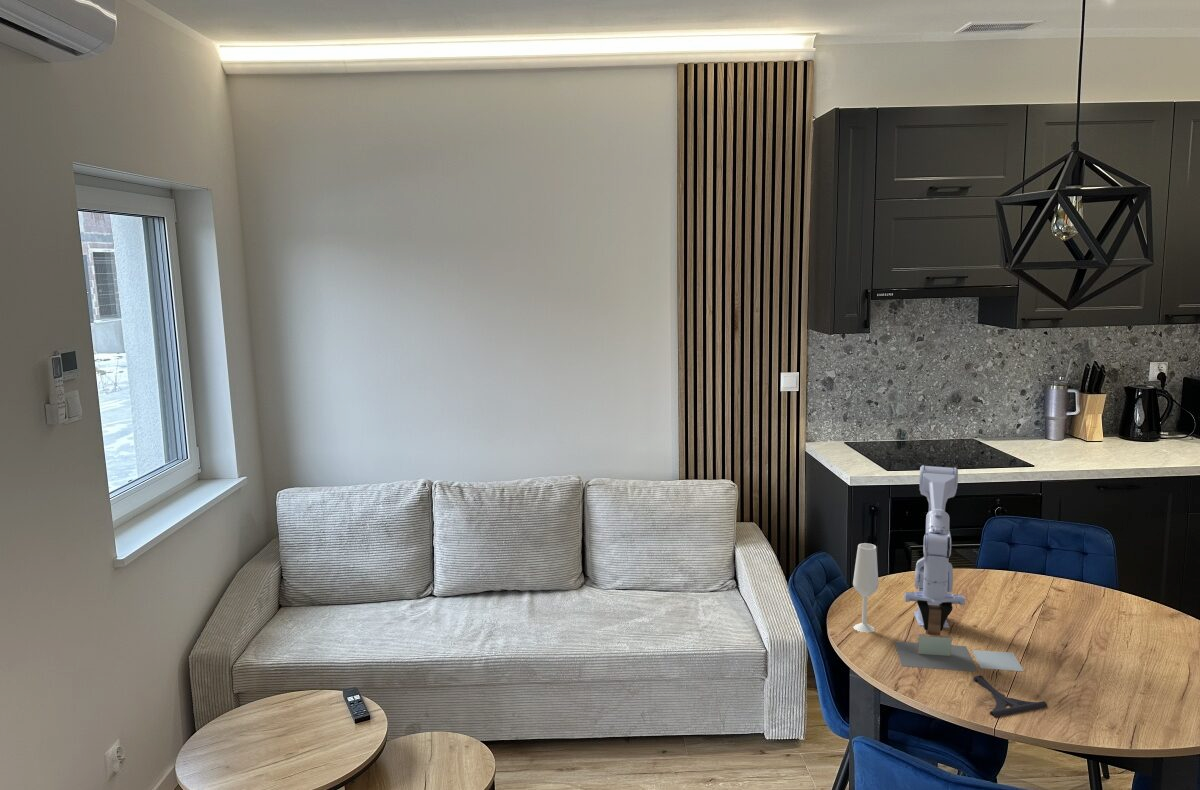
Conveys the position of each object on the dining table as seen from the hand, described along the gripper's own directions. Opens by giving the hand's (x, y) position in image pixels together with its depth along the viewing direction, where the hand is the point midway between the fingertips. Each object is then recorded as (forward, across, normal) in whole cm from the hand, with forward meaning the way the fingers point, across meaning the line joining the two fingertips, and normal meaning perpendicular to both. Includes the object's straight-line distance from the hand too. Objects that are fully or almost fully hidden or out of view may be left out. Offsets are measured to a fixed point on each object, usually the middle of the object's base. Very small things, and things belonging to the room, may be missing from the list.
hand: (932, 628), depth 223 cm
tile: (+6, 0, -3) cm, 6 cm away
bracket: (+7, +11, -22) cm, 25 cm away
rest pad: (+6, +15, -4) cm, 17 cm away
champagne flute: (+6, -16, +10) cm, 20 cm away
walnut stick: (+2, 0, 0) cm, 2 cm away
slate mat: (+6, 0, -4) cm, 7 cm away
